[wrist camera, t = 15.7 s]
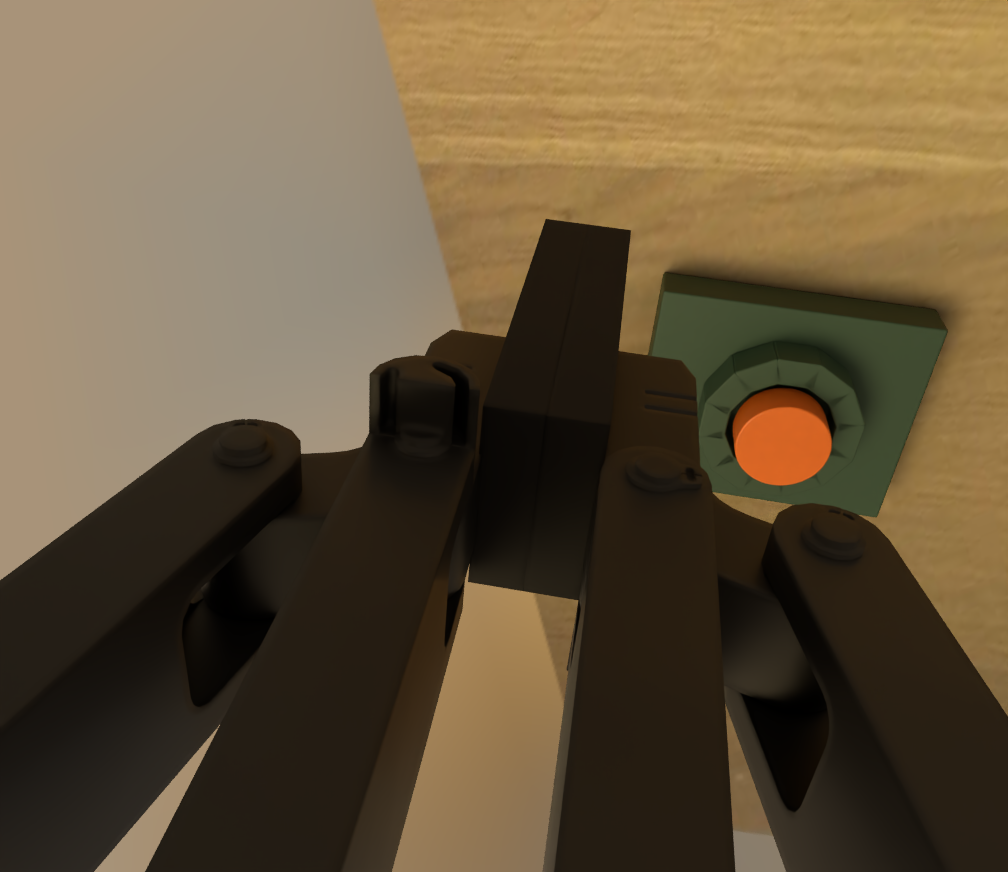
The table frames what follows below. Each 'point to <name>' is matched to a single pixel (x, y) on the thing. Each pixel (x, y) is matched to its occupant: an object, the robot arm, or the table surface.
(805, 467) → the button
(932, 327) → the button block
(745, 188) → the table surface
